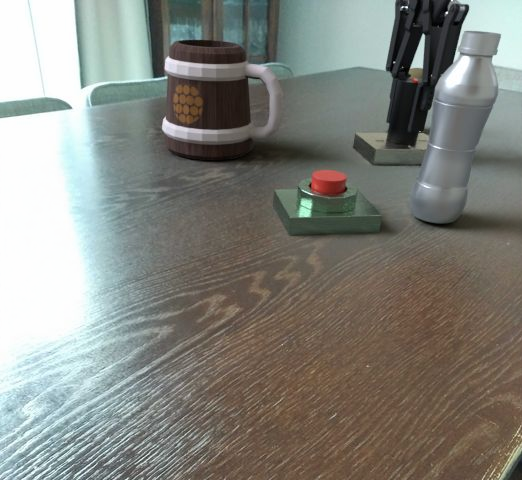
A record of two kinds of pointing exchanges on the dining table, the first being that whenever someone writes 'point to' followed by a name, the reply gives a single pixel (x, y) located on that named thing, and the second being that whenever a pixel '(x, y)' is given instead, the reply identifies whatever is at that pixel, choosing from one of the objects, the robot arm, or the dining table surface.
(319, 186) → the button
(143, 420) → the dining table surface
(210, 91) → the mug
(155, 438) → the dining table surface
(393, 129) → the black battery
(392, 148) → the base
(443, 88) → the plastic bottle
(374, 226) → the button box
